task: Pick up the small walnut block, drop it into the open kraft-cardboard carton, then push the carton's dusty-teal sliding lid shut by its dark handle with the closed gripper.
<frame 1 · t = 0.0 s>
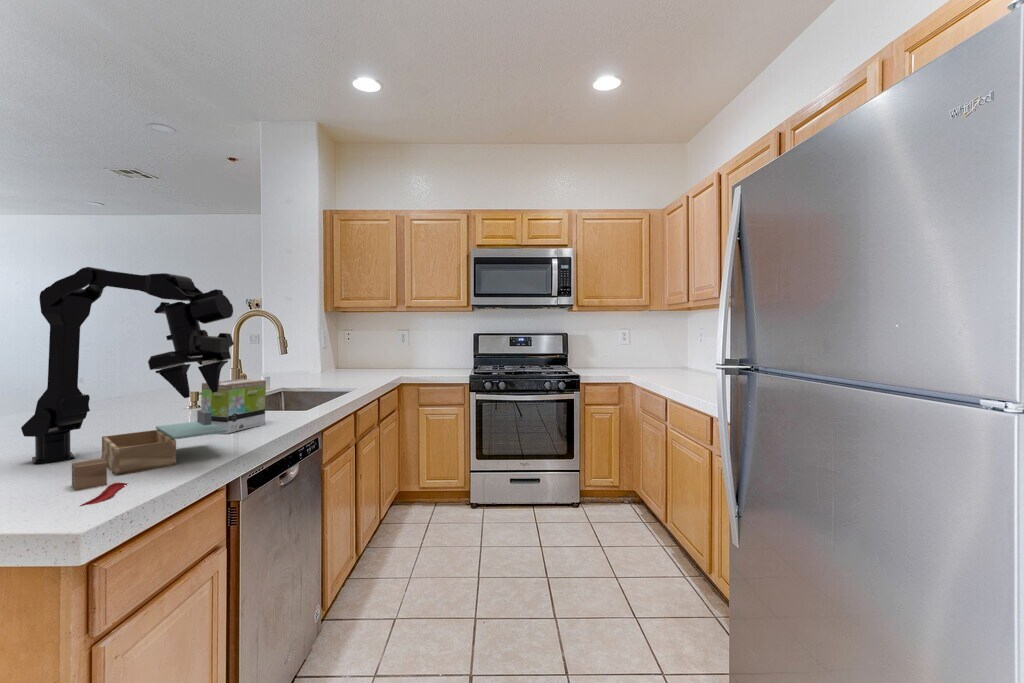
hand: (201, 394, 104), 15 cm above the worktop, tool pointing down, fingers open, 9 cm apart
tea box: (234, 429, 140), on the worktop
lid: (190, 423, 110), point 8 cm above the worktop, slide at 10.0 cm
walnut block: (89, 485, 88), on the worktop
cayenne pepper: (108, 497, 83), on the worktop
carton: (138, 462, 103), on the worktop
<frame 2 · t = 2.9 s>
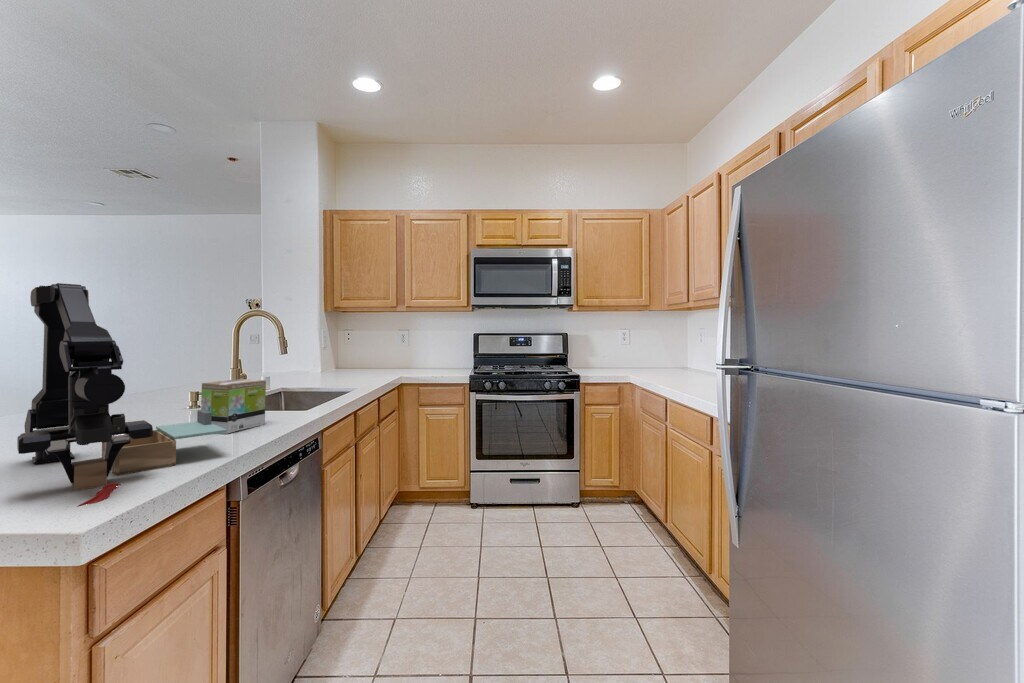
hand: (89, 479, 88), 1 cm above the worktop, tool pointing down, fingers closed on walnut block, 4 cm apart
walnut block: (89, 485, 88), on the worktop, touching gripper
when the fingers open (5 cm above the worktop, at t = 5.9 s): walnut block drops 3 cm, resting on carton.
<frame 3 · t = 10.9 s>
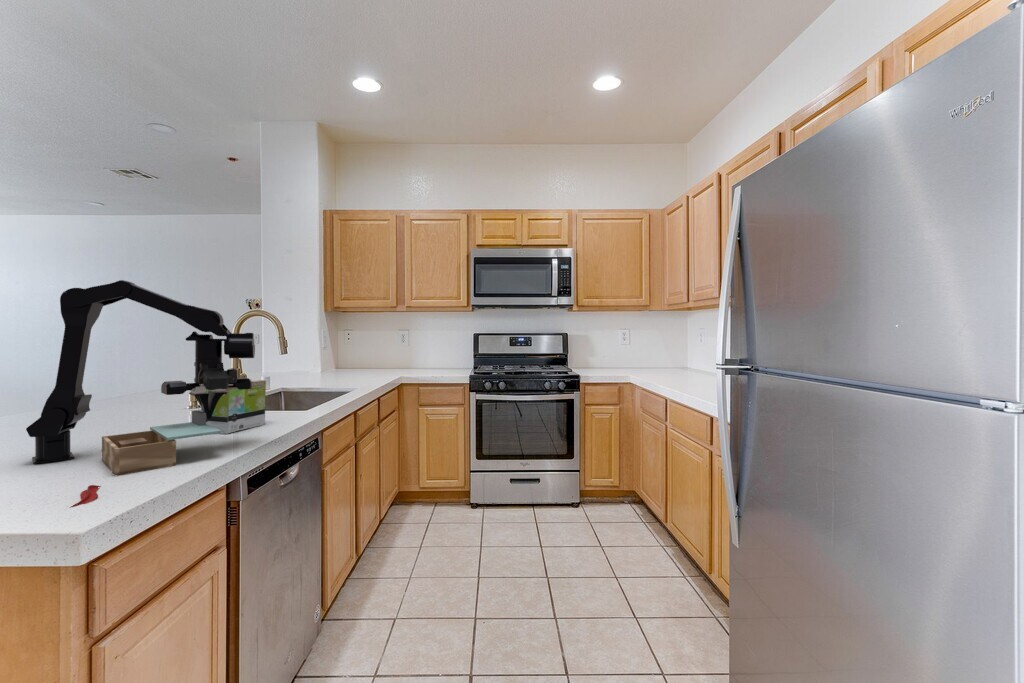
hand: (208, 418, 117), 7 cm above the worktop, tool pointing down, fingers closed
lid: (185, 423, 110), point 8 cm above the worktop, slide at 8.8 cm, touching gripper
walnut block: (132, 460, 102), point 1 cm above the worktop, touching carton
cayenne pepper: (88, 499, 82), on the worktop
everything else where it was.
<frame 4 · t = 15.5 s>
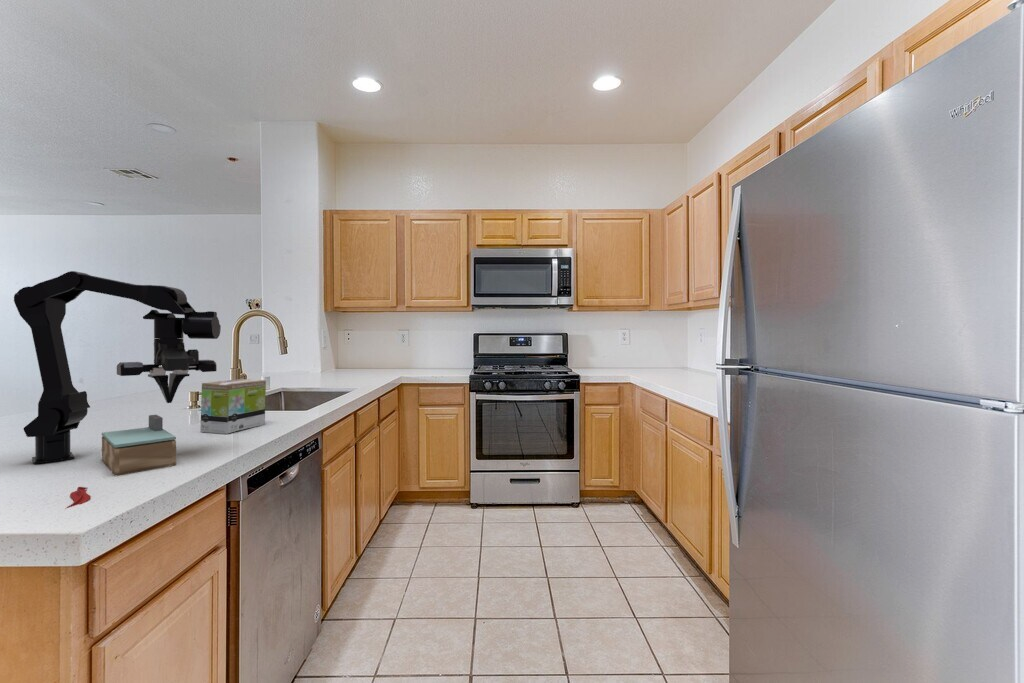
hand: (169, 402, 110), 12 cm above the worktop, tool pointing down, fingers closed
lid: (138, 429, 103), point 8 cm above the worktop, slide at 0.0 cm
cayenne pepper: (79, 500, 82), on the worktop
everything else where it was.
at the end: lid slide at 0.0 cm; walnut block inside the target area on the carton (1.0 cm from its centre), point 0.6 cm above the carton's base; the gripper is holding nothing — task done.
